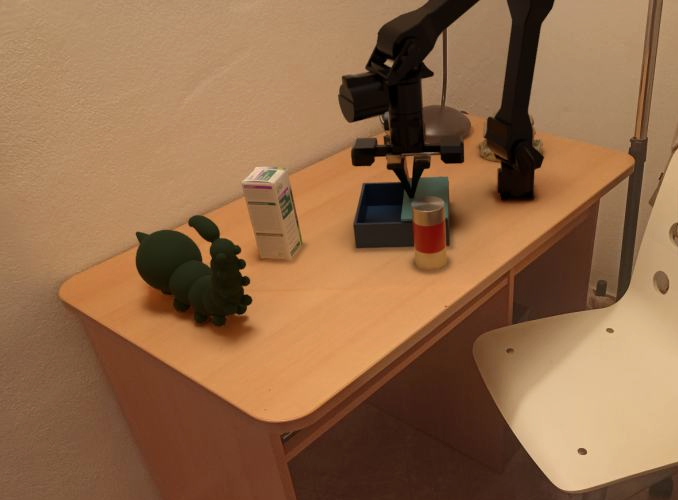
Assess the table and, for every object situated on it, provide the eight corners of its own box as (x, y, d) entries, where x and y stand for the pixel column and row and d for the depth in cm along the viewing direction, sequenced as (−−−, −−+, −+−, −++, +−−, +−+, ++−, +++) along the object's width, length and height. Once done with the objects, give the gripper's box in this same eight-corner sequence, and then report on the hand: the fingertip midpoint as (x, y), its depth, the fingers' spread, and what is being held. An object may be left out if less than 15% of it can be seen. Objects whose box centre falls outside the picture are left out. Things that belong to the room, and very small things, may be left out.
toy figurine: (274, 326, 103) (174, 263, 114) (255, 218, 90) (145, 159, 101) (223, 358, 97) (123, 288, 108) (196, 247, 85) (86, 181, 96)
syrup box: (291, 262, 114) (275, 182, 105) (259, 259, 115) (240, 180, 106) (303, 245, 119) (288, 167, 109) (272, 242, 120) (254, 165, 111)
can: (446, 255, 114) (444, 195, 107) (446, 272, 110) (444, 211, 103) (416, 256, 114) (411, 196, 108) (414, 272, 110) (410, 211, 103)
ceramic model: (472, 160, 144) (472, 114, 138) (482, 140, 152) (482, 95, 146) (539, 164, 141) (541, 117, 135) (544, 143, 150) (547, 98, 143)
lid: (448, 178, 125) (448, 176, 125) (447, 219, 113) (447, 217, 112) (406, 179, 125) (405, 177, 125) (401, 221, 113) (400, 219, 113)
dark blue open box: (449, 204, 129) (448, 180, 125) (449, 248, 116) (448, 222, 113) (365, 207, 129) (362, 182, 126) (356, 250, 117) (353, 224, 113)
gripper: (462, 90, 115) (464, 176, 125) (353, 93, 116) (363, 178, 125) (463, 113, 106) (464, 203, 116) (345, 117, 107) (356, 206, 117)
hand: (411, 197), depth 119 cm, fingers closed, pressing on lid
